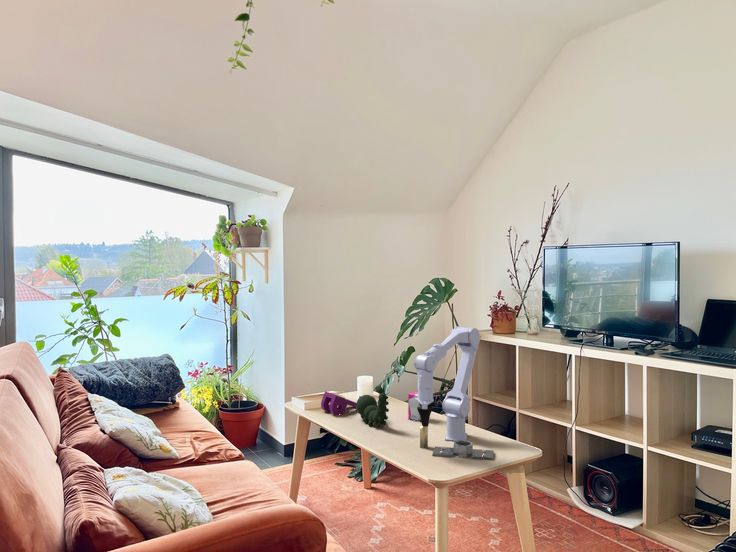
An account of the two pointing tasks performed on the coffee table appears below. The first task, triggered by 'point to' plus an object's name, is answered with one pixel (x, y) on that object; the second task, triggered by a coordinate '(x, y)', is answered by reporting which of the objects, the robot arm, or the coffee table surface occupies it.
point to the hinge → (463, 451)
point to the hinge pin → (423, 437)
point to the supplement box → (413, 407)
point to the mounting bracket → (335, 403)
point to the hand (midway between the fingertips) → (425, 423)
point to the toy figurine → (373, 408)
